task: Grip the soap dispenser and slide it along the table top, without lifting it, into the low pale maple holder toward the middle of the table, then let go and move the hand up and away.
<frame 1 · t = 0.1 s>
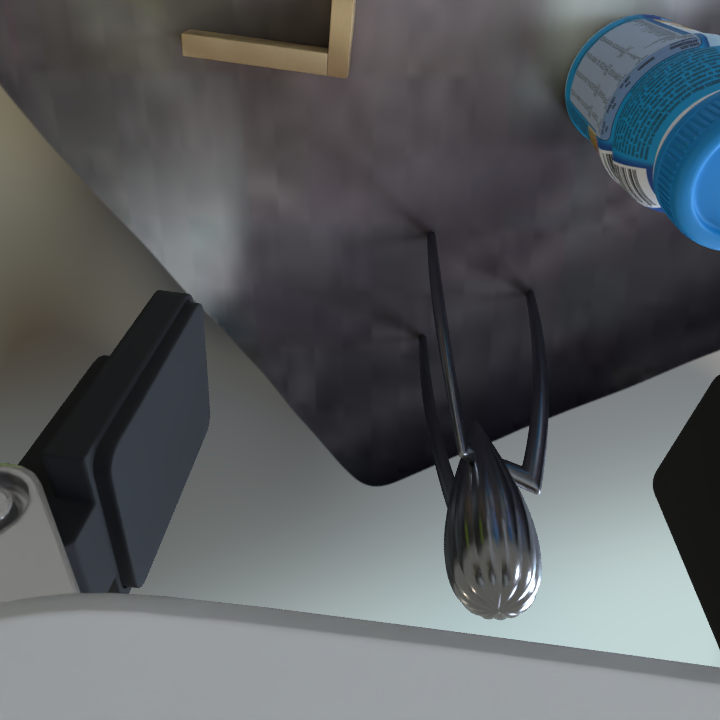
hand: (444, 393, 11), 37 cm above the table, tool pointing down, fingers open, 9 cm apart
blue labeled canister: (623, 80, 40), on the table
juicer: (477, 290, 51), on the table
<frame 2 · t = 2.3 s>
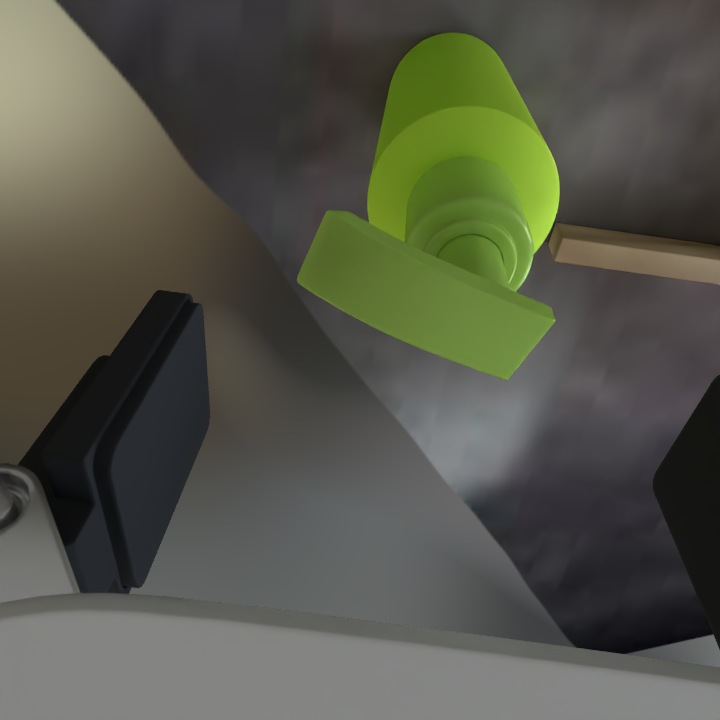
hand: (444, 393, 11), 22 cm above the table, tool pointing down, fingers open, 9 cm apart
soap dispenser: (438, 94, 28), on the table
holder: (713, 133, 28), on the table
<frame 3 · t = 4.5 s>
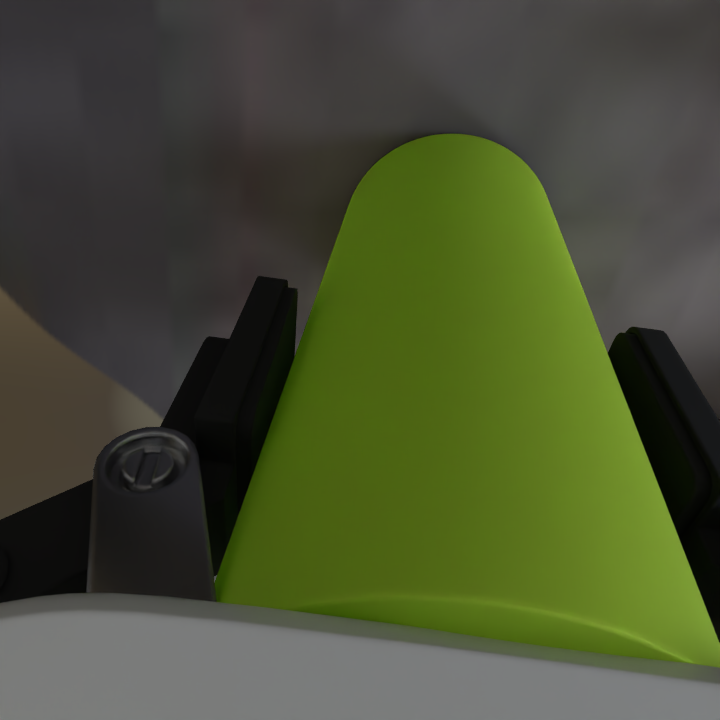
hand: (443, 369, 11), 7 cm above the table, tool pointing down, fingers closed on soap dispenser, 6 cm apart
soap dispenser: (429, 227, 17), on the table, touching gripper
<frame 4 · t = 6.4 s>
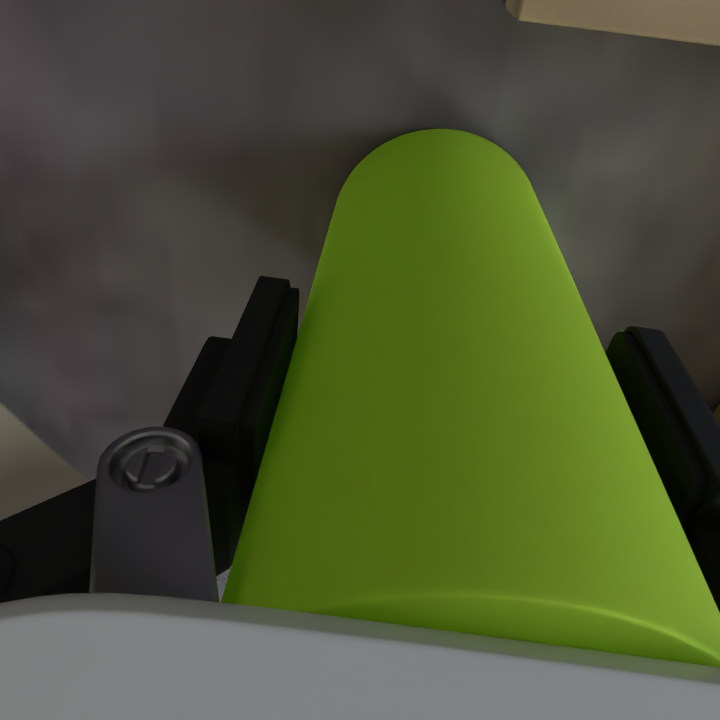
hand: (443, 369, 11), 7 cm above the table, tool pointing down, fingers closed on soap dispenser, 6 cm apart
soap dispenser: (417, 223, 17), on the table, touching gripper
holder: (662, 257, 17), on the table
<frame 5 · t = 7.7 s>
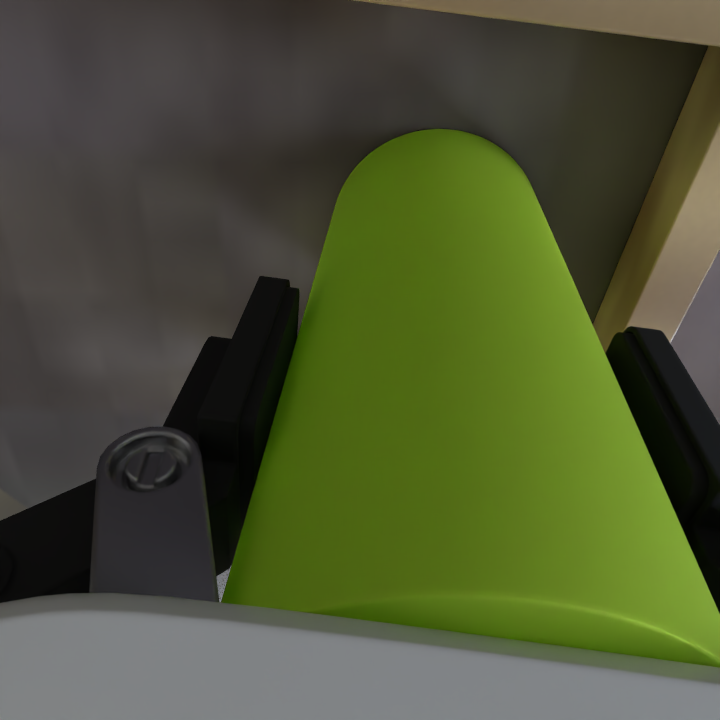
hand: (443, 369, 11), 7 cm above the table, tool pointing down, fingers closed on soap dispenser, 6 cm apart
soap dispenser: (417, 223, 17), on the table, touching gripper
holder: (484, 234, 17), on the table
when the fingers open (7 cm above the table, at t = 8.5 s): soap dispenser stays where it is, on the table.
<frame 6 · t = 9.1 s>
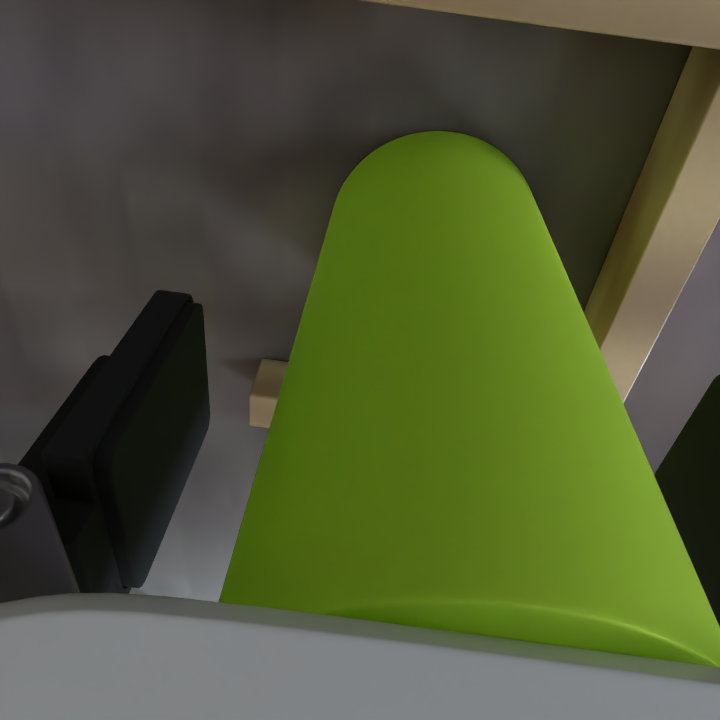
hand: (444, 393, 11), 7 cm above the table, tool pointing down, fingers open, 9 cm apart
soap dispenser: (415, 225, 17), on the table
holder: (469, 233, 17), on the table
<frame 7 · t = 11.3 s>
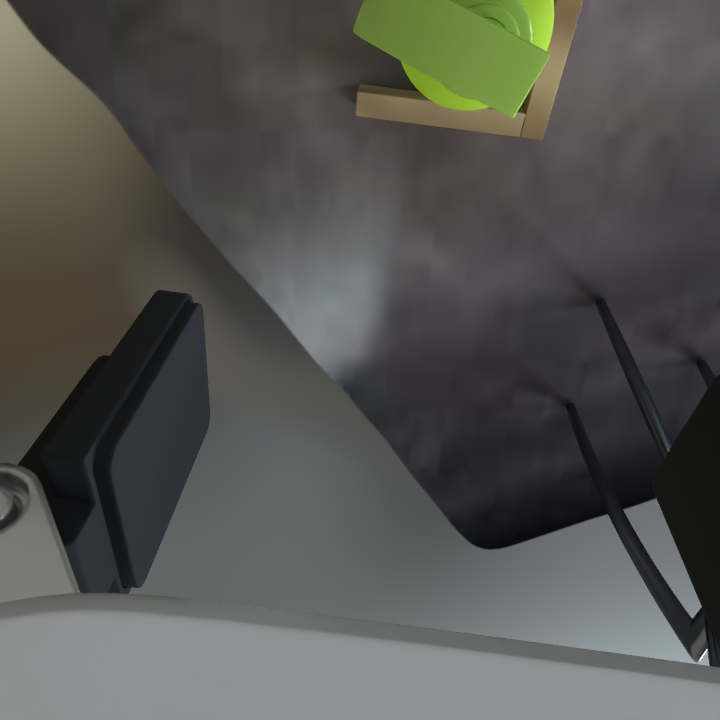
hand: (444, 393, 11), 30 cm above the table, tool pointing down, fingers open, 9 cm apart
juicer: (641, 357, 46), on the table
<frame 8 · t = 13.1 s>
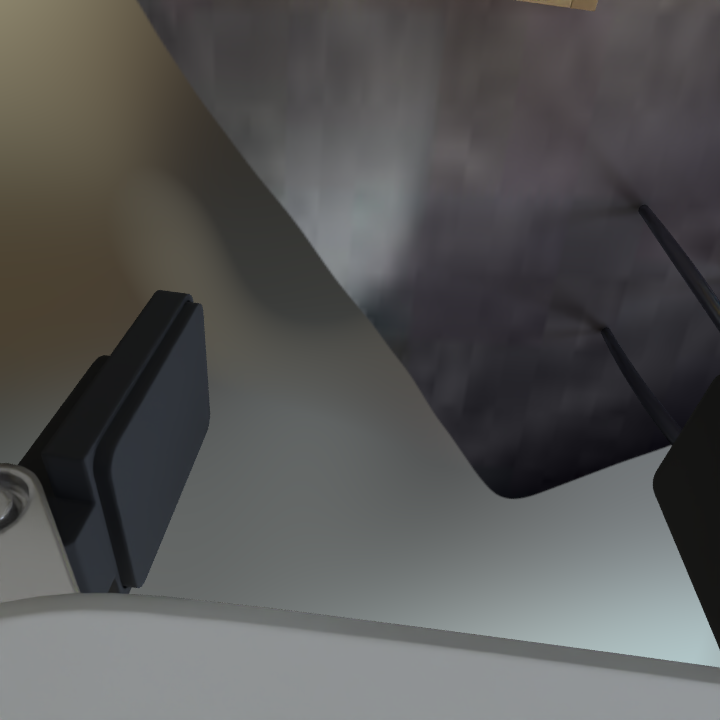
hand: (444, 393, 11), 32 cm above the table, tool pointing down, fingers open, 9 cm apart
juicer: (682, 275, 44), on the table
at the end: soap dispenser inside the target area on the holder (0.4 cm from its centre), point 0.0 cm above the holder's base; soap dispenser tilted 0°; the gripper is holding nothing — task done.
